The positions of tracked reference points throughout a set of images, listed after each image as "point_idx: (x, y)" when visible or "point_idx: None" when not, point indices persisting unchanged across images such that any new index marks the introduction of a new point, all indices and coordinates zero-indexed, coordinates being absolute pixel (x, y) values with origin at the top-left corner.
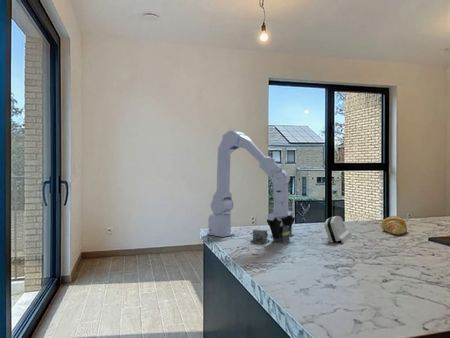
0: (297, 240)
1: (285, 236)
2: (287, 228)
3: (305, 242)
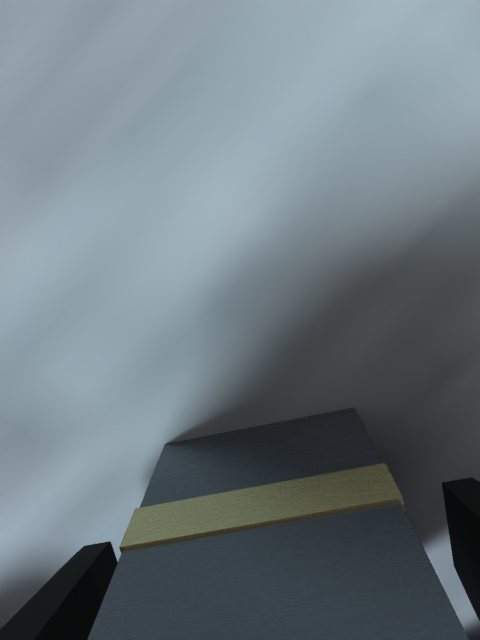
0: (64, 356)
1: (279, 467)
2: (190, 602)
3: (52, 156)
